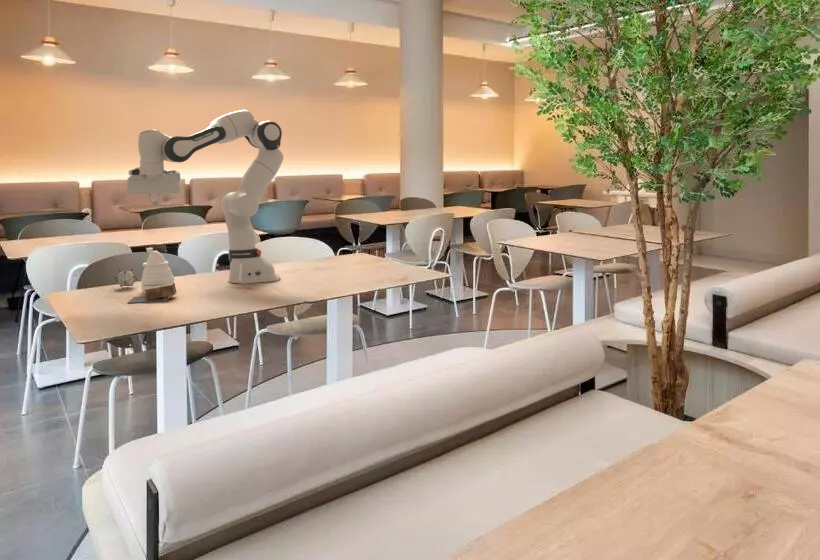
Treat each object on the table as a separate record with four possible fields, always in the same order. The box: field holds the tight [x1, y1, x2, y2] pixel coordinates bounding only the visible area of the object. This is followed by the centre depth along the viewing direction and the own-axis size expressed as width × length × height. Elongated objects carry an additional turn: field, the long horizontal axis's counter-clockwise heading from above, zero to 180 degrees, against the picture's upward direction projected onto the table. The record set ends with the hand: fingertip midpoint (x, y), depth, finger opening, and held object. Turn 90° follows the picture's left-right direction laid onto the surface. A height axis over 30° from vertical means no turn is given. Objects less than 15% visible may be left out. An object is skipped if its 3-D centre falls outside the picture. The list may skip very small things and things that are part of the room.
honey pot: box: [140, 247, 176, 294], centre depth 261 cm, size 13×13×18 cm
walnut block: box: [145, 283, 177, 300], centre depth 245 cm, size 4×6×10 cm
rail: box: [162, 296, 172, 303], centre depth 246 cm, size 1×14×1 cm, turn 12°
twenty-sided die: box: [114, 268, 138, 288], centre depth 272 cm, size 9×8×10 cm
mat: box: [127, 295, 164, 305], centre depth 244 cm, size 12×12×1 cm
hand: (155, 205), depth 259 cm, fingers closed
